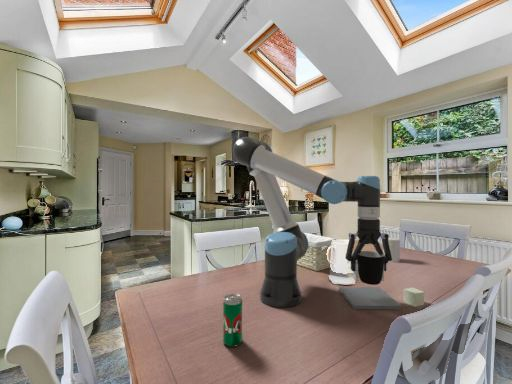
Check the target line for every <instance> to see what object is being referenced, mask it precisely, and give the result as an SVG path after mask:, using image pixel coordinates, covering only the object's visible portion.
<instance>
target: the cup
mask: <svg viewBox="0 0 512 384" xmlns="http://www.w3.org/2000/svg"><path fill="white" fill-rule="evenodd" d="M388 242H389V247H390V252H391V256H392V261H390V262H389V263H391V262H392V263H398V262H399V263H400V259H401V255H400V254H401V253H400V252H401V251H400V249H401V248H400V246H401V239H400V238H397V237H390V236H389V238H388ZM382 248H383V247H382ZM382 251H383V253H384V248H383V249H382ZM384 255H385V253H384Z"/></svg>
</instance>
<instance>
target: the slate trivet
mask: <svg viewBox="0 0 512 384" xmlns="http://www.w3.org/2000/svg"><path fill="white" fill-rule="evenodd" d="M338 291H339V292H340V294H341V295H342V296H343V297H344V298H345V300H346V301H347V302H348V303H349V305H350V306H351V307H352V308H353V310H402V307H403V306H402V305H401V304H400V303H399V302H398V301H397V300H396V299H394V298H393V297H392V296H390V295H389V294H388V293H387V292H386V291H385V290H383V289H382V288H381V287H379V286H373V287H372V286H369V287H368V286H339V287H338Z"/></svg>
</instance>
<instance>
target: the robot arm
mask: <svg viewBox="0 0 512 384" xmlns="http://www.w3.org/2000/svg"><path fill="white" fill-rule="evenodd" d="M232 156H233V158H234V160H235V161H236V162H237V163H238V164H240V165H242V166H246V168H247V171H248V173H249V175H250V176H253V178H254V179H255V182H256V184H257V188H258V189H259V192H260V196H261V197H262V199H263V204H264V205H265V208H266V210H267V214H268V215H269V218H270V221H271V224H272V226H273V231H272V233H269V234H268V235H267V236H266V237H265V241H264V279H263V282H262V284H261V287H260V291H259V299H260V301H261V302H262V303H263V304H266V305H268V306H270V307H274V308H291V307H296V306H297V305H299V304H300V303H301V302H302V291H301V288H300V284H299V281H298V278H297V277H298V276H297V272H298V271H297V269H298V267H297V266H298V265H297V261H298V260H299V259H300V258H302V257H303V256H304V255H305V253H306V251H307V249H308V239H307V237H306V235H305V234H304V233H305V232H303V231H302V230H301V228H300V225H299V223H297V222H295V221H294V220H293V217H292V215H291V212H290V210H289V207H288V205H287V202H286V200H285V197H284V195H283V192H282V190H281V188H280V185H279V182H278V180H277V178H278V179H280V180H283V181H285V182H287V183H289V184H291V185H293V186H295V187H296V188H300V189H302V190H304V191H306V192H308V193H310V194H313V195H314V196H317V197H318V198H321V199H323V200H324V201H325V203H328V204H330V205H337V204H340V203H342V202H346V203H347V202H354V203H355V202H357V217H358V218H357V230H356V232H355V233H351V232H349V233H348V238H349V239H348V244H347V249H346V253H345V259H346V260H347V262H350V270H351V271H352V279H353V281H355V282H358V281H359V273H358V263H357V258H358V254H360V252H361V251H363V248H364V247H365V246H366V245H373V247H374V249H375V252H378V254H379V255H380V256H381V254H383V255H384V253H385V255H384V269H383V276H382V280H381V282H384V281H385V272H386V271H387V264H388V263H389V261H392V256H391V252H390V247H389V242H388V238H389V237H390V235H389V234H388V233H385V232H381V230H380V229H381V220H380V218H381V179H380V177H379V176H376V175H361V176H358V177H357V180H355V181H339V180H337V179H334V178H332V177H330V176H328V175H325V174H322V173H320V172H318V171H316V170H314V169H311V168H309V167H307V166H304V165H302V164H300V163H297V162H295V161H293V160H290V159H288V158H286V157H283V156H282V155H280V154H277V153H274V152H273V150H272V148H271V146H270V145H268V144H267V143H266V142H265V141H263V140H259V139H256V138H254V137H251V136H243V137H240V138H238V139H237V140H236V141H235V143H234V144H233V147H232ZM356 239H358V241H357V244H356V246H355V243H356V242H355V241H356ZM379 239H381V243H382V248H384V253H383V249H382V248H381V245H380V242H379ZM354 248H355V249H354Z"/></svg>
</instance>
